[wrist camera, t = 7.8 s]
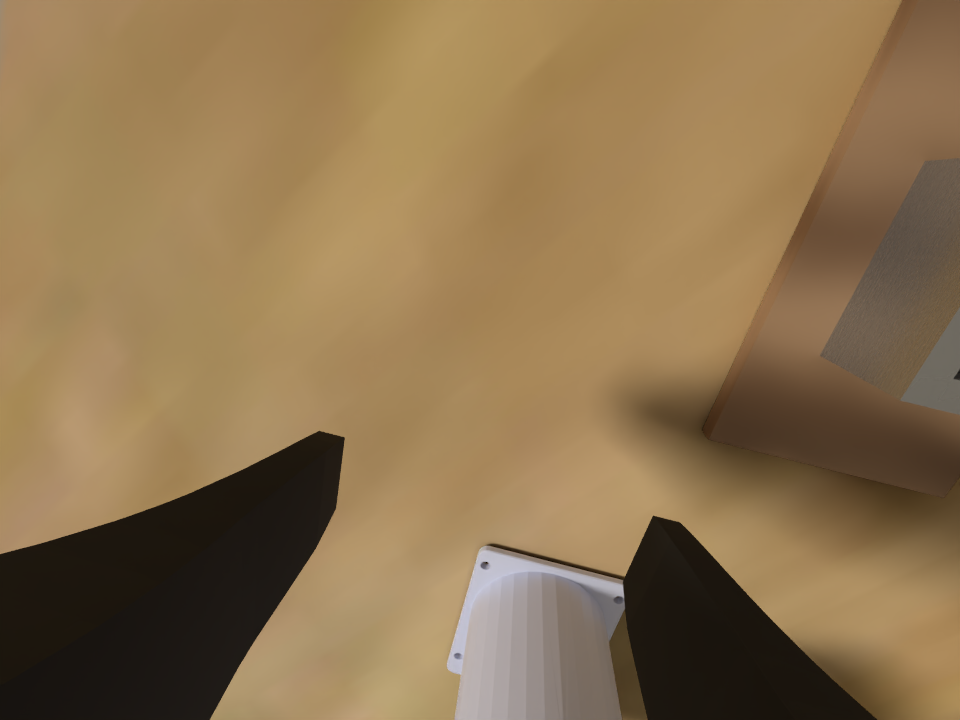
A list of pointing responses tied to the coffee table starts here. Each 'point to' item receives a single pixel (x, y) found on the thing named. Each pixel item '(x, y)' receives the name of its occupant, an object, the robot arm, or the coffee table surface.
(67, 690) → the robot arm
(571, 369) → the coffee table surface
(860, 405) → the keeper board
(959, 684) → the coffee table surface
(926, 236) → the steel link
